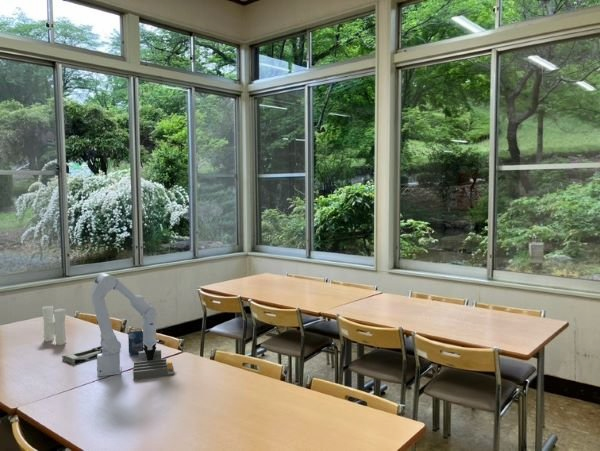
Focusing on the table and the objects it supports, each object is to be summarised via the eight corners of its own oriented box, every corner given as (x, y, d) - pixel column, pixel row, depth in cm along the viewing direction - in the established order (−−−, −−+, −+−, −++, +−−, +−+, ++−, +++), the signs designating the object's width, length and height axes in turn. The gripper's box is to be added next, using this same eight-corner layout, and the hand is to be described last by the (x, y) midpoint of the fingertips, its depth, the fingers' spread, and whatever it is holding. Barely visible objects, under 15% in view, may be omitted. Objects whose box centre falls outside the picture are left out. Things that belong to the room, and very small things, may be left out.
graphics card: (62, 355, 223) (110, 342, 243) (62, 362, 224) (110, 348, 244) (72, 359, 217) (121, 345, 238) (73, 367, 218) (121, 352, 238)
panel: (139, 365, 218) (138, 352, 218) (139, 364, 220) (138, 351, 219) (161, 363, 221) (161, 350, 221) (161, 361, 223) (161, 349, 222)
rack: (133, 380, 200) (133, 370, 200) (134, 369, 212) (133, 361, 212) (173, 375, 206) (173, 366, 205) (172, 365, 217) (171, 357, 217)
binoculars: (41, 340, 256) (40, 307, 255) (51, 337, 261) (50, 305, 260) (58, 345, 247) (57, 311, 245) (68, 342, 251) (67, 309, 250)
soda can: (134, 357, 229) (133, 332, 228) (125, 354, 233) (125, 330, 232) (146, 353, 234) (145, 329, 233) (138, 350, 238) (137, 327, 238)
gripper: (158, 335, 214) (159, 364, 215) (158, 326, 227) (158, 354, 228) (142, 336, 211) (143, 366, 212) (142, 328, 225) (143, 356, 226)
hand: (150, 360), depth 220 cm, fingers open, 3 cm apart
